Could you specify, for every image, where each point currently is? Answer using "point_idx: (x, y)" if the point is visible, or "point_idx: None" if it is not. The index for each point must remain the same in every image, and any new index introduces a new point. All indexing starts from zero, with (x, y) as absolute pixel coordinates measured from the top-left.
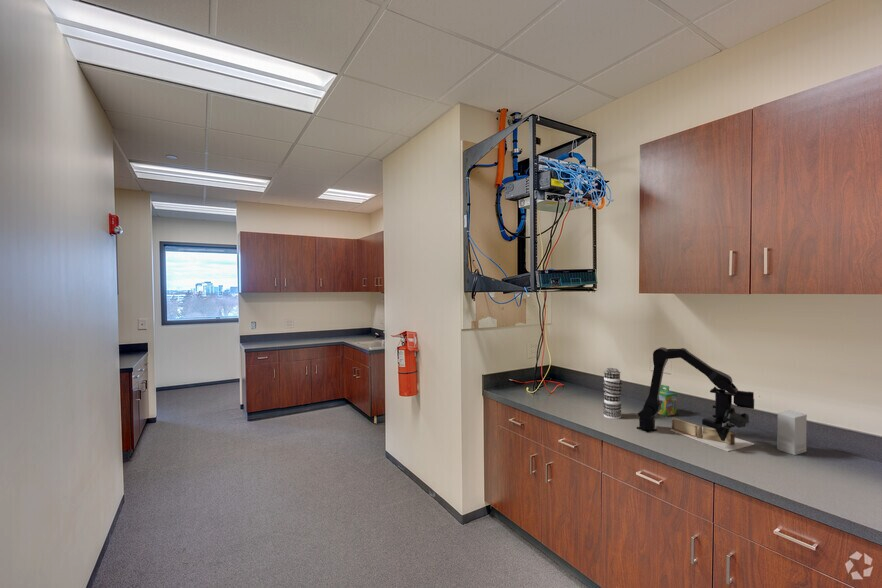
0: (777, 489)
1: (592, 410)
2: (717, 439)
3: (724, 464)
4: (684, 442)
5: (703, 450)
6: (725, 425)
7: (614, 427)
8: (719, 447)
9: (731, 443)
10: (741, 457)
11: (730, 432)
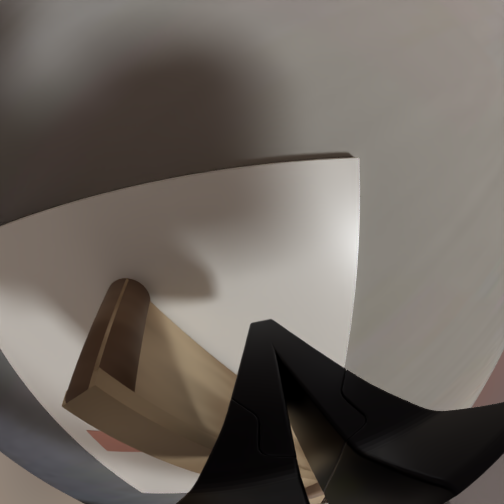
0: None
1: None
2: (232, 381)
3: (500, 64)
4: (423, 359)
5: (463, 243)
6: (500, 487)
7: None
8: (355, 250)
9: (146, 295)
10: (359, 21)
11: (129, 419)
